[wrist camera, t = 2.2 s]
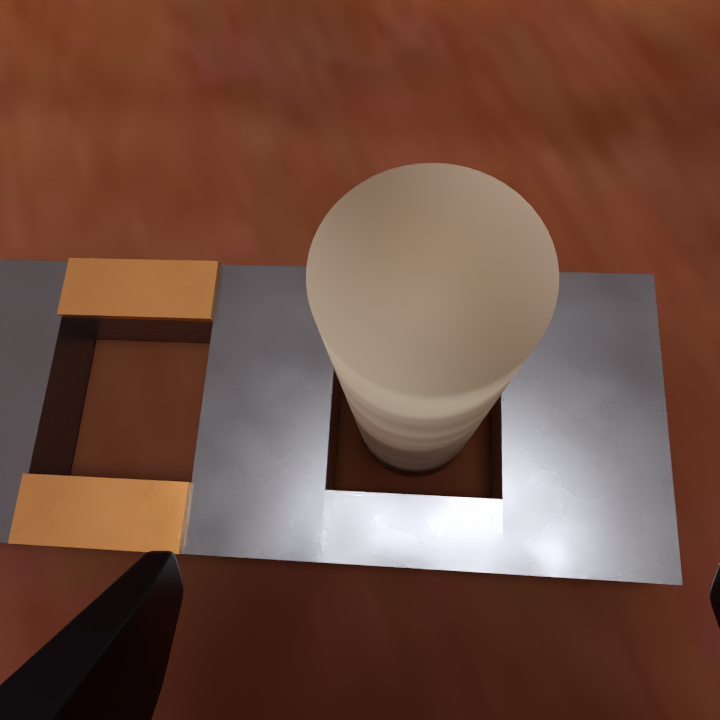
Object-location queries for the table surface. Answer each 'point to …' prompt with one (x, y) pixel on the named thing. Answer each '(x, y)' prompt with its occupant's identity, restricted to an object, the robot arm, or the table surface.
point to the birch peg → (429, 305)
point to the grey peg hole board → (335, 431)
